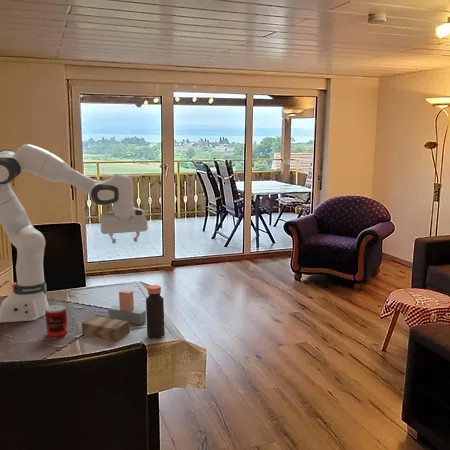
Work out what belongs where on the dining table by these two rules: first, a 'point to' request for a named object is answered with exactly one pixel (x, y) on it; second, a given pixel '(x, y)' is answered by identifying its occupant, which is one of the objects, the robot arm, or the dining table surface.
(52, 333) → the canned food
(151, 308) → the bottle
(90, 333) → the block
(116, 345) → the dining table surface
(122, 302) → the stub
